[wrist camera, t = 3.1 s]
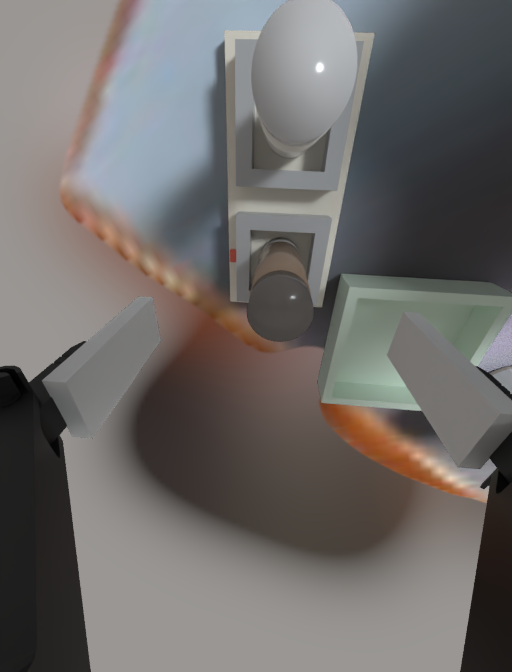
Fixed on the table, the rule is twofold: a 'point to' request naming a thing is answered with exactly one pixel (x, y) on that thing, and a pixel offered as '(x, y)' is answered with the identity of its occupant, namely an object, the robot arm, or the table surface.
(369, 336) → the parts tray
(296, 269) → the fuse
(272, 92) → the fuse
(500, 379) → the mug
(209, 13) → the table surface
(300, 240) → the panel
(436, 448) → the table surface
